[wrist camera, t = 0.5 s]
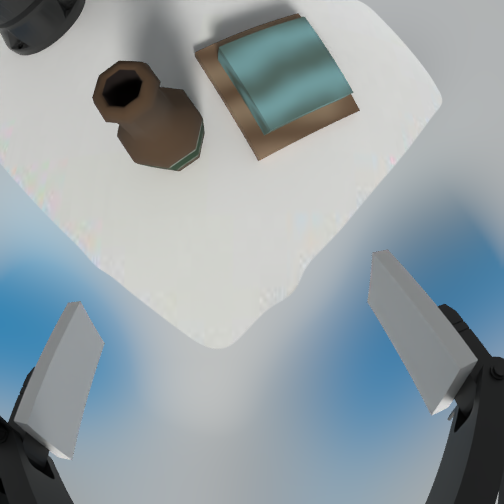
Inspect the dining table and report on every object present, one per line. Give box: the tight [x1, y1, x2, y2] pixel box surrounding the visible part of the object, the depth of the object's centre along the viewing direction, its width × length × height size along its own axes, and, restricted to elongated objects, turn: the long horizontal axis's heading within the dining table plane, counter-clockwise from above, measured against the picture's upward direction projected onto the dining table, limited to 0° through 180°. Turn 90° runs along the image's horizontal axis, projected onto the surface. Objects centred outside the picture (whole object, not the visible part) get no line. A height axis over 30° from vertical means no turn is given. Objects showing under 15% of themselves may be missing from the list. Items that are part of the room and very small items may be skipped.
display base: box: [195, 14, 360, 161], centre depth 32 cm, size 17×16×6 cm
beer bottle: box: [92, 61, 204, 171], centre depth 23 cm, size 8×8×24 cm
